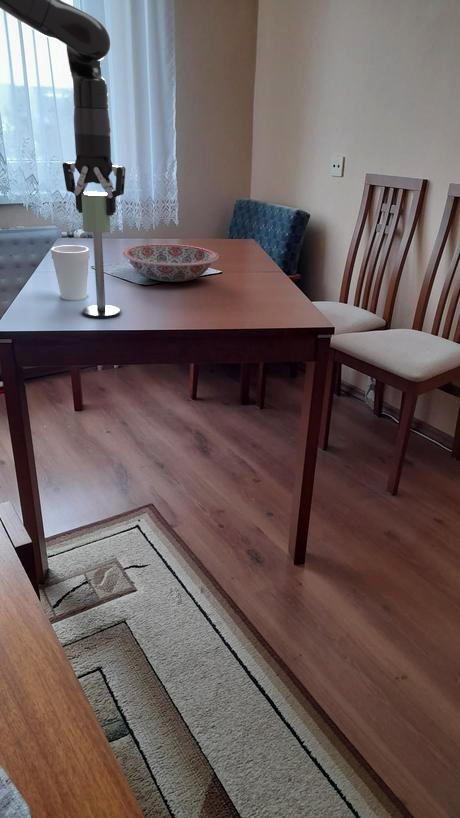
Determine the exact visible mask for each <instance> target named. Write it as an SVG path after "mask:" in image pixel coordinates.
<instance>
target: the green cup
mask: <svg viewBox="0 0 460 818" xmlns="http://www.w3.org/2000/svg"><path fill="white" fill-rule="evenodd" d="M81 198H82V213H81V214H82V215H81V217H82V231H83V232H86V233H92V234H93V233H102V234H107V233H110V232H111V216H108V214H107V198H108V196H107V194H106V192H99V191H98V192H97V191H87V192H86V191H84V192H83V193H82V196H81Z"/></svg>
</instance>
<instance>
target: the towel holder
mask: <svg viewBox="0 0 460 818" xmlns="http://www.w3.org/2000/svg"><path fill="white" fill-rule="evenodd" d="M92 240H93V258H94V275H95V292H96V295H95V297H96V304H95V305H90V306H86V307H84V308H83V309H82V315H83V316H84V317H85V318H88V319H92V320H110V319H115V318H117V317H119V316H120V315H121V309H120V308H119V307H117V306H114V305H109V304H106V292H105V291H106V290H105V272H104V270H105V269H104V251H103V233H92Z"/></svg>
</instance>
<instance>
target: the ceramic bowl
mask: <svg viewBox="0 0 460 818" xmlns="http://www.w3.org/2000/svg"><path fill="white" fill-rule="evenodd" d="M121 254H122V257H123V258H125V259H127V260H128V261H129V263H130V265H131V266H132V267H133V268H134V269H135V271H136V272H138V273H139V274H140V275H142V276H143V277H145V278H147V279H151V280H153V281H158V282H164V283H165V282H166V283H167V282H168V283H180V282H188V281H192V280H195V279H197V278H199V277H201V276H203V274H204V273H206V272H207V270H208V269H209V268H210V266H211V265H212V263H214V262H216V261H218V260H219V254H218V253H217V252H215V251H214V250H211V249H208V248H205V247H199V246H194V245H186V244H178V243H177V244H176V243H149V244H140V245H139V244H138V245H134V246H130V247H127V248H125V249H123V250H122V252H121Z"/></svg>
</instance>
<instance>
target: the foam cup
mask: <svg viewBox="0 0 460 818" xmlns="http://www.w3.org/2000/svg"><path fill="white" fill-rule="evenodd" d="M50 253H51V259H52V263H53V267H54V271H55V275H56V280H57V284H58V288H59V293H60V297H61V299H63V300H65V301H66V300H67V301H81V300H84V299H86V298H87V291H88V276H89V262H90V257H91V256H90V255H91V254H90V248H89V247H87V246H84V245H73V244H68V245H67V244H65V245H56V246H52V248H51V249H50Z"/></svg>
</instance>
